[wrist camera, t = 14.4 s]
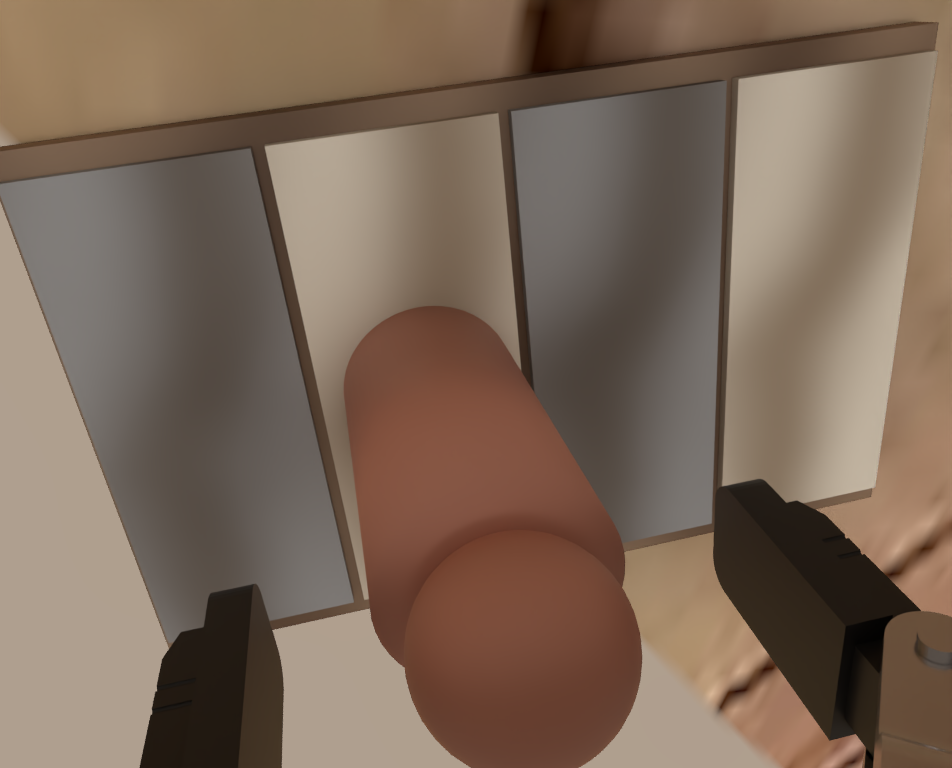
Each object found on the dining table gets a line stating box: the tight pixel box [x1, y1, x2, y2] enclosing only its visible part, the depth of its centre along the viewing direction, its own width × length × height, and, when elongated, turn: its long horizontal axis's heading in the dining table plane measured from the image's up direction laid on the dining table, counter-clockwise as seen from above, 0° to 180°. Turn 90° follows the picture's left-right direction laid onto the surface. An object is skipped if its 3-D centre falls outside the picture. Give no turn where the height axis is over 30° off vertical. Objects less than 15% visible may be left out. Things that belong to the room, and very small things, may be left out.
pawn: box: [344, 306, 642, 768], centre depth 16 cm, size 4×4×11 cm
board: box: [0, 22, 938, 648], centre depth 21 cm, size 22×14×1 cm, turn 96°
